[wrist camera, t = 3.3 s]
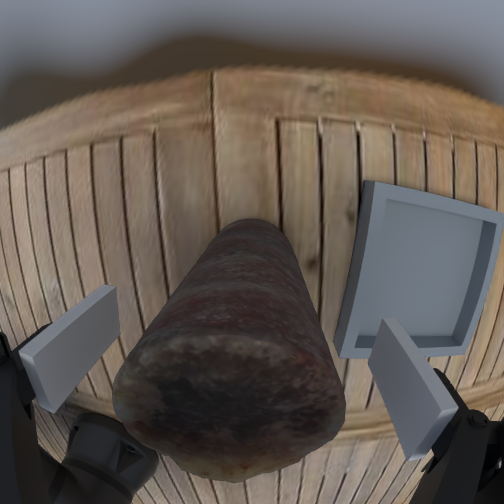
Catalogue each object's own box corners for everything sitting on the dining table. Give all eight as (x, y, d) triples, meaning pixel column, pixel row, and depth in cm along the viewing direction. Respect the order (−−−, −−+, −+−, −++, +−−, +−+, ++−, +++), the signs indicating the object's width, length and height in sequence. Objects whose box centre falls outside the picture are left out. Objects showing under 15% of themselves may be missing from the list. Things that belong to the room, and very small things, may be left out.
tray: (333, 341, 28) (339, 358, 25) (363, 180, 24) (375, 181, 21) (452, 341, 28) (464, 354, 25) (488, 209, 24) (505, 214, 21)
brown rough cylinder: (276, 202, 25) (306, 295, 6) (307, 277, 27) (369, 469, 7) (197, 236, 26) (55, 373, 7) (231, 306, 28) (178, 500, 8)
